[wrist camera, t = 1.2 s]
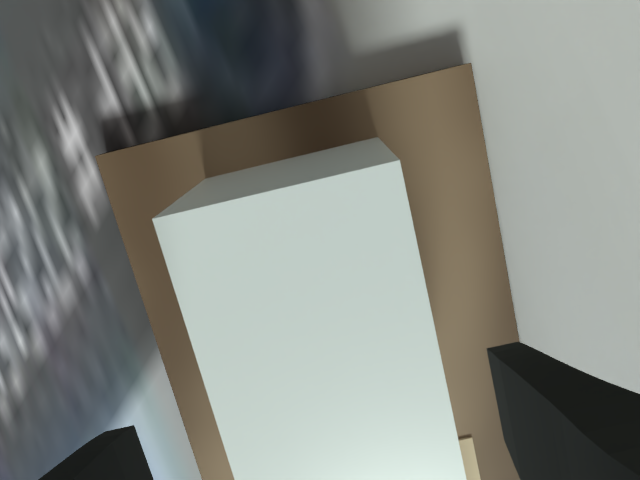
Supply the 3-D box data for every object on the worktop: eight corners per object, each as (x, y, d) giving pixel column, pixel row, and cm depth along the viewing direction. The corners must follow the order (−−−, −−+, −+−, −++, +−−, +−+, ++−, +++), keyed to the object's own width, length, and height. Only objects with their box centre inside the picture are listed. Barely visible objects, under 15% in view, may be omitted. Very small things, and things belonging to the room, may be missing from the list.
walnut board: (463, 64, 19) (471, 63, 18) (567, 653, 25) (578, 678, 24) (106, 152, 20) (93, 156, 19) (285, 702, 26) (284, 729, 25)
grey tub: (377, 136, 19) (399, 160, 13) (433, 391, 21) (472, 509, 15) (205, 178, 19) (152, 219, 13) (276, 424, 21) (257, 551, 16)
